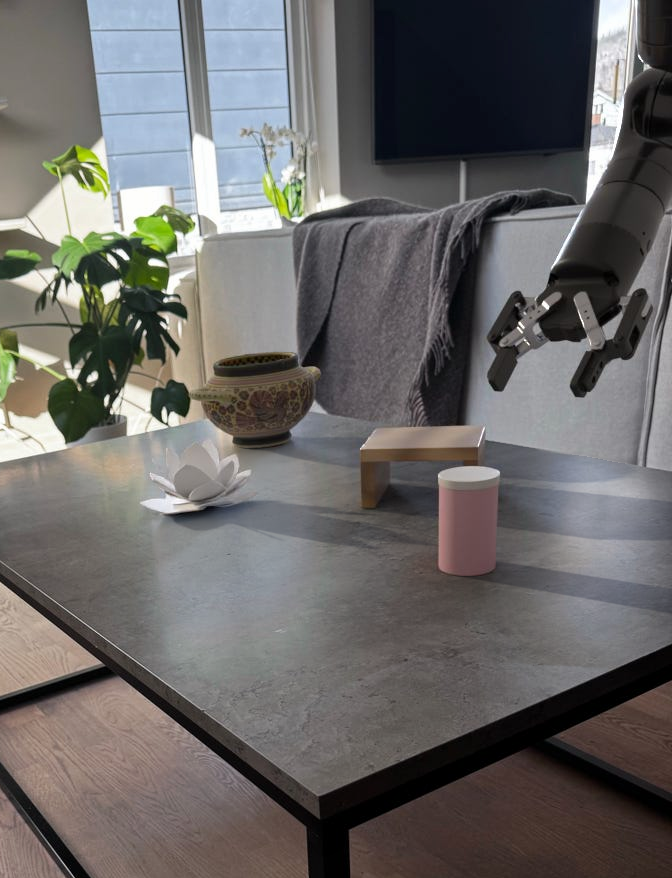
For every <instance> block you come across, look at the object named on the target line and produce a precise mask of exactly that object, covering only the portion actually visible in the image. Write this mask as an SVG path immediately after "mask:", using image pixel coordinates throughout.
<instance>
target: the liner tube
mask: <svg viewBox="0 0 672 878" xmlns="http://www.w3.org/2000/svg"><path fill="white" fill-rule="evenodd" d="M437 477H438V478H437V483H438V484H437V485H438V569H439V570H440V571H441V572H442V573H445V574H448V575H453V576H459V577H473V576H474V577H475V576H481V575H485V574H489V573H491V572H492V571H494V570H495V569H496V564H497V563H496V562H497V535H498V534H497V533H498V509H499V508H498V507H499V483H500V482H501V472H500V471H499V470H498V469H496V468H493V467H488V466H485V467H481V466H464V467H463V466H456V467H451V468H447V469H444V470H441V471H440V472H439V473H438V475H437Z"/></svg>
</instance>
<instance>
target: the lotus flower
mask: <svg viewBox="0 0 672 878" xmlns="http://www.w3.org/2000/svg"><path fill="white" fill-rule="evenodd" d="M152 462H153V463H154V465H156V467H158V469H159V470H160V471H161V473H162V474H163V475H164V476H165V477H166V478H165V477H163V476H160V475H158V474H156V473H153V472H150V473H149V475H150V479H151V480H152V483H153V484H154V485H156V487H157V488H158V489H159V490H160V491H161V492H163V493H164V494H165V498H150V499H146V500H143V501H140V505H141V506H143V507H144V508H146V509H149V510H151V511H154V512H157V513H158V515H159V516H163V515H176V514H180V513H187V512H198V511H202V510H205V509H206V508H207V507H210V506H211V507H212V506H213V507H219V508H227V507H230V506H235V505H237V504H241V503H243V502H245V501H248V500H249V499H251V498H254V497H255V496H256V495H258V494H259V493H260V491H259V490H244V491H243V490H242V491H240V490H241V488H243V487H244V486H245V485H246V483H248V481H249V479H250V478H251V474H252V469H247V470H243V471H241V472H239V470H240V460H239V458H238V455H237V453H233V454H231V455H228V456H226V457H224V458H223V459H221V456H220V453H219V449H218V447H217V446H216V444H215V443H214V442H213V441H212V440H211V439H210V438H208V437H207V438H206V439H204V441H203V442H201V443H199V442H198V441H195V442H193V443H192V444H190V445H189V446H188V447H186V448H185V449H184V451H182V454H181V456H180V457H179V455H178V454H177V453H176V452H175V451H174V450H172V449H171V448H170V447H166V449H165V465H166V470H167V474H166V473H165V471H164V470H163V468H161V466H160V465H158V463H157V462H156V460H155V459H152Z"/></svg>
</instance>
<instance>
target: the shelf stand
mask: <svg viewBox="0 0 672 878" xmlns="http://www.w3.org/2000/svg"><path fill="white" fill-rule="evenodd" d="M486 428H487V426H486V424H478V425H477V424H476V425H475V424H474V425H472V424H471V425H444V426H443V425H439V426H407V427H406V426H404V427H403V426H402V427H400V426H399V427H377V428H375V429H374V431H373V432H372V433H371V435H370V436H369V437H368V439H367V440H366V441H365V443H364V444H363V445H362V446H361V447H360V448H359V461H360V493H361V495H360V499H361V501H360V502H361V503H360V504H361V509H376V508H377V505H378V504H379V502H380V500H381V499H382V497H383V496H384V494H385V492H386V490H387V489H388V487H389V486H390V484H391V462H451V461H453V462H455V461H458V462H460V461H462V467H464V466H481V467H486V466H485V465H486V464H485V462H486V461H485V460H486V433H487V432H486V430H487V429H486Z"/></svg>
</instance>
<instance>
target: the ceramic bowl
mask: <svg viewBox="0 0 672 878" xmlns="http://www.w3.org/2000/svg"><path fill="white" fill-rule="evenodd" d="M212 369H213V375H212V376H211V377H210V378H209V379H208V380H207V381H206V382H205V384H204V385H203V387H200V388H195V389H192V390H190V391H189V392H188V397H189V398H190V399H191V400H194V401H197V402H201V408H202V410H203V412H204V414H205V416H206V418H207V419H208V420H209V421H210V422H211V423H212V424H213V426H215V427H216V428H217V429H218V430H220V431H221V432H224V433H225V434H227V435H229V436H231V437H232V441H231V443H232V444H233V446H235V447H238V448H241V449H242V448H243V449H258V448H259V449H260V448H261V449H262V448H270V447H275V446H280V445H283V444H286V443H287V442H289V441H290V440H291V439H292V433H291V430H292V429H293V428H295V427H296V426H297V425H298V424H299V423H300V422H301V421H302V420H304V418H305V417H306V415H307V414H308V413H309V412H310V410H311V408H312V406H313V404H314V402H315V398H316V393H317V385H316V382H317V381H318V380H319V378H320V377H321V375H322V372H321V369H320V368H318V367H316V366H305V367H303V366H301V365H300V363H299V354H298V353H297V352H293V351H270V352H268V351H267V352H258V353H257V352H256V353H244V354H242V355H235V356H230V357H225V358H221V359H219V360H217V361H215V362H214V363H213V365H212Z"/></svg>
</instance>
